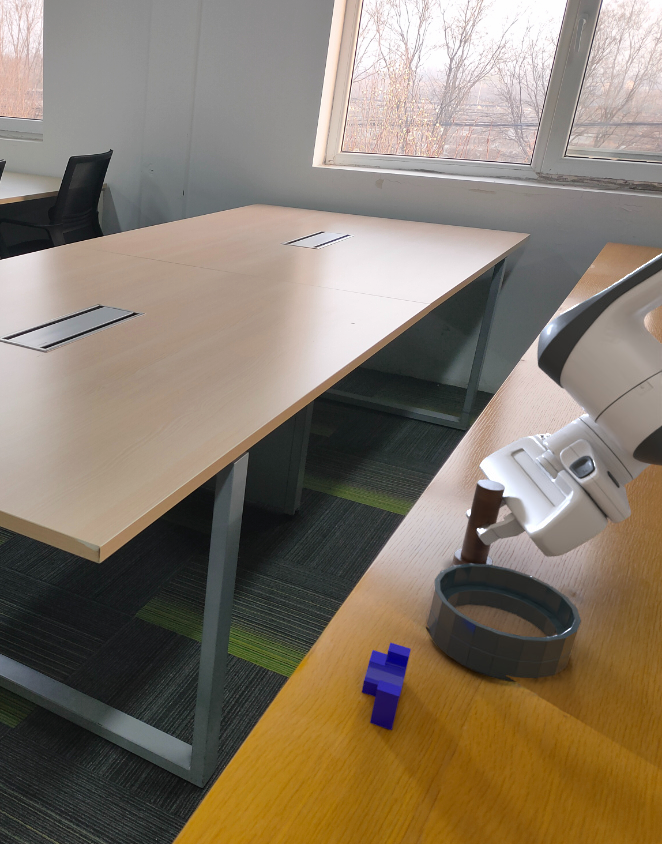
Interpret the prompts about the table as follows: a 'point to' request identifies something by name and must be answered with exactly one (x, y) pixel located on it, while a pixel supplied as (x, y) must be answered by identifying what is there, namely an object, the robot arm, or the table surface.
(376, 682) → the blue stepped block
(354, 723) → the table surface
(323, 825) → the table surface
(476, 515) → the pestle
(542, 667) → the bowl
